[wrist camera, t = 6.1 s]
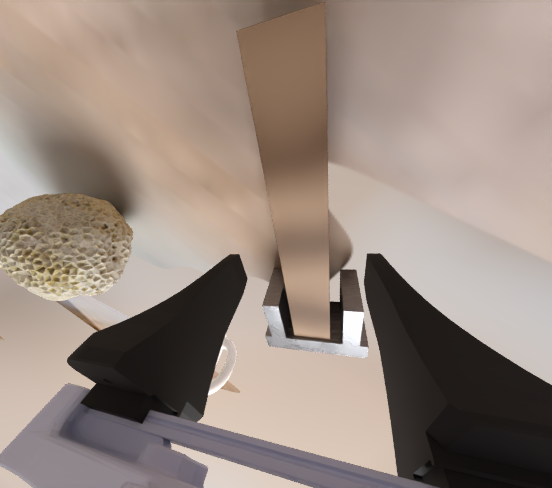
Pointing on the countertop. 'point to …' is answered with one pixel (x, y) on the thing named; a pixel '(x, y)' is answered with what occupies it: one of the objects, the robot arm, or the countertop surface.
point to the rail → (294, 153)
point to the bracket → (343, 319)
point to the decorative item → (64, 245)
